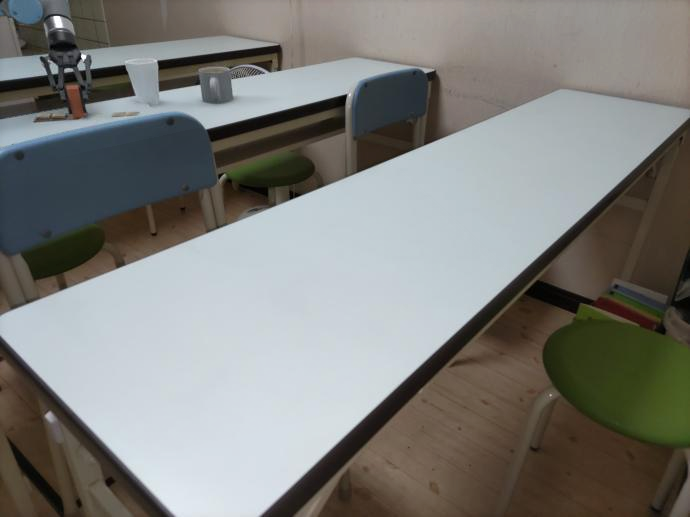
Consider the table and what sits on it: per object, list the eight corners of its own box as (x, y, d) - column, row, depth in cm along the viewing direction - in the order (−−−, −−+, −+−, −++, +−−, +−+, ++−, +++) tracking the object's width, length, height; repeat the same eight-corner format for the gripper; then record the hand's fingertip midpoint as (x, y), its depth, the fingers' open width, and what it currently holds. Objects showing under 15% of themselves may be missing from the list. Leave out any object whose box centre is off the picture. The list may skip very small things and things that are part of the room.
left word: (34, 124, 141) (32, 119, 140) (40, 116, 147) (38, 111, 146) (85, 122, 144) (84, 117, 143) (89, 115, 150) (87, 109, 150)
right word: (94, 124, 143) (92, 118, 142) (97, 116, 149) (96, 111, 149) (139, 122, 146) (138, 116, 145) (140, 114, 153) (139, 109, 152)
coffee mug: (208, 97, 174) (204, 66, 168) (236, 98, 173) (233, 67, 168) (194, 107, 162) (190, 74, 157) (225, 108, 161) (221, 75, 156)
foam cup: (127, 104, 162) (118, 61, 156) (153, 99, 168) (146, 57, 162) (143, 109, 157) (135, 65, 150) (170, 103, 163) (163, 61, 157)
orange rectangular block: (73, 118, 144) (66, 89, 140) (72, 113, 147) (66, 85, 143) (85, 117, 145) (78, 88, 141) (84, 113, 149) (77, 84, 145)
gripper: (93, 45, 153) (109, 115, 149) (32, 47, 146) (47, 120, 142) (90, 28, 146) (107, 101, 142) (26, 30, 139) (42, 106, 135)
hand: (77, 110), depth 142 cm, fingers closed on orange rectangular block, 3 cm apart
